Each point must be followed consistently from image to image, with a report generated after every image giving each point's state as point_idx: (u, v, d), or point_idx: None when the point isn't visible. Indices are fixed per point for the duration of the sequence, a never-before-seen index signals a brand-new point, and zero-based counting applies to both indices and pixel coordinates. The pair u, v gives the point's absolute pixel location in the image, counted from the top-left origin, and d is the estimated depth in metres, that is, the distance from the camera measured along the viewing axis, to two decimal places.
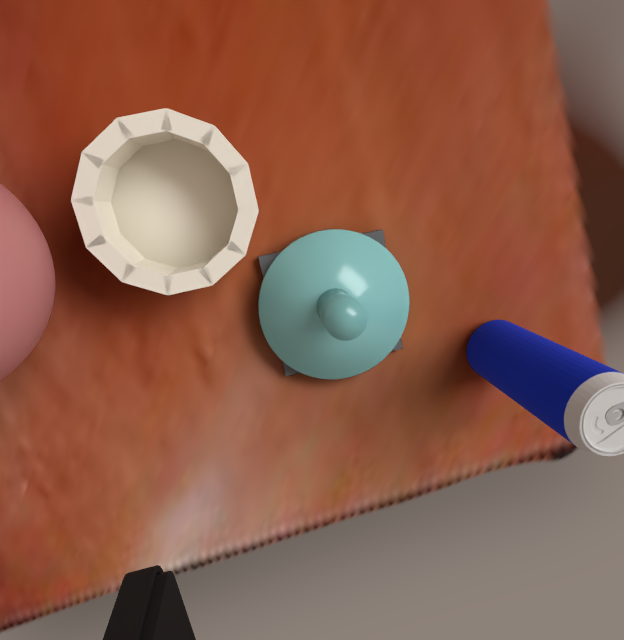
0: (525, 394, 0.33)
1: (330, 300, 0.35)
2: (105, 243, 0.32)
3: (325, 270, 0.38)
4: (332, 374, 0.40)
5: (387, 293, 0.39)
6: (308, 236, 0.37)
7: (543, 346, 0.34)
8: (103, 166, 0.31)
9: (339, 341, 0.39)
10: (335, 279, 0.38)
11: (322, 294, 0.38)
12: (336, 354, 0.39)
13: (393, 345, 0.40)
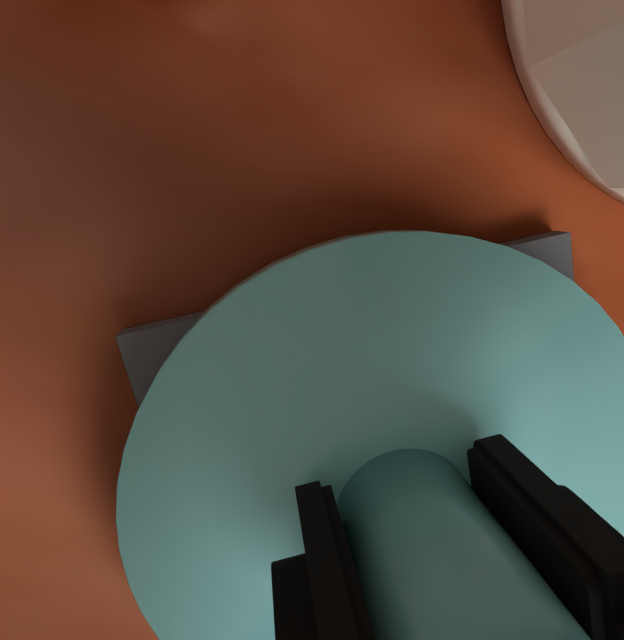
0: None
1: None
2: None
3: None
4: (139, 524, 0.10)
5: None
6: None
7: None
8: None
9: (275, 536, 0.10)
10: None
11: (457, 469, 0.10)
12: (222, 531, 0.10)
13: None
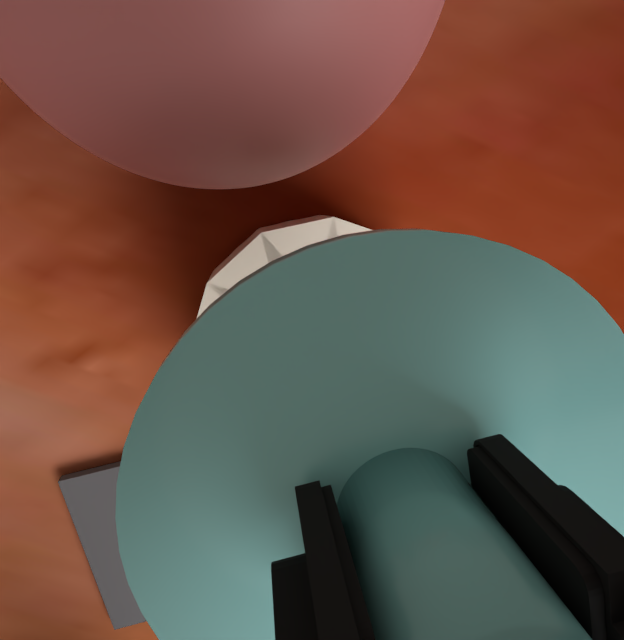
0: None
1: (545, 580, 0.07)
2: (268, 262, 0.20)
3: None
4: (138, 523, 0.10)
5: None
6: None
7: None
8: None
9: (275, 535, 0.10)
10: None
11: (457, 468, 0.10)
12: (222, 530, 0.10)
13: None
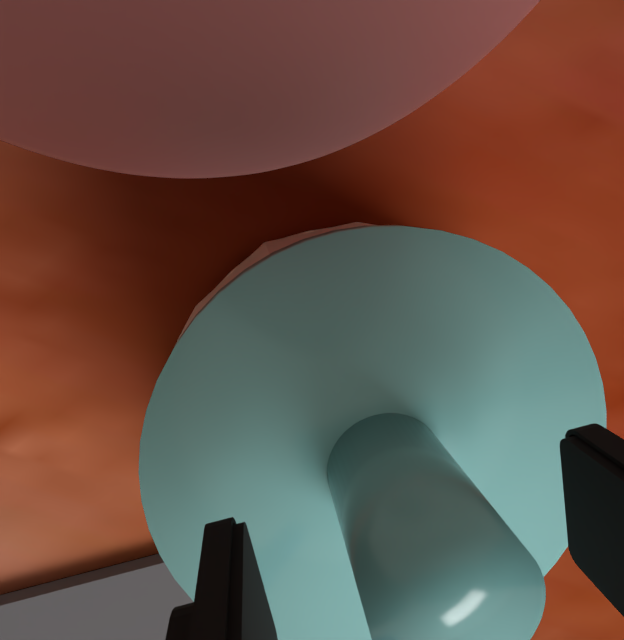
0: None
1: (494, 509, 0.09)
2: None
3: (497, 432, 0.12)
4: (158, 476, 0.12)
5: None
6: (598, 379, 0.12)
7: None
8: None
9: (275, 488, 0.12)
10: (468, 462, 0.13)
11: (431, 430, 0.12)
12: (229, 484, 0.12)
13: None
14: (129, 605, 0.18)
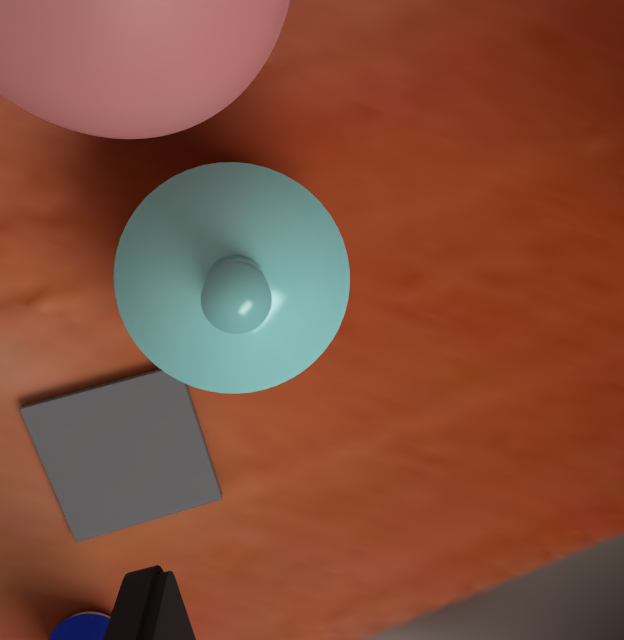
0: None
1: (261, 273, 0.22)
2: None
3: (291, 265, 0.25)
4: (123, 285, 0.24)
5: (259, 359, 0.26)
6: (340, 238, 0.25)
7: None
8: None
9: (181, 293, 0.25)
10: (278, 281, 0.26)
11: (256, 262, 0.25)
12: (158, 290, 0.25)
13: (178, 377, 0.26)
14: (114, 406, 0.31)
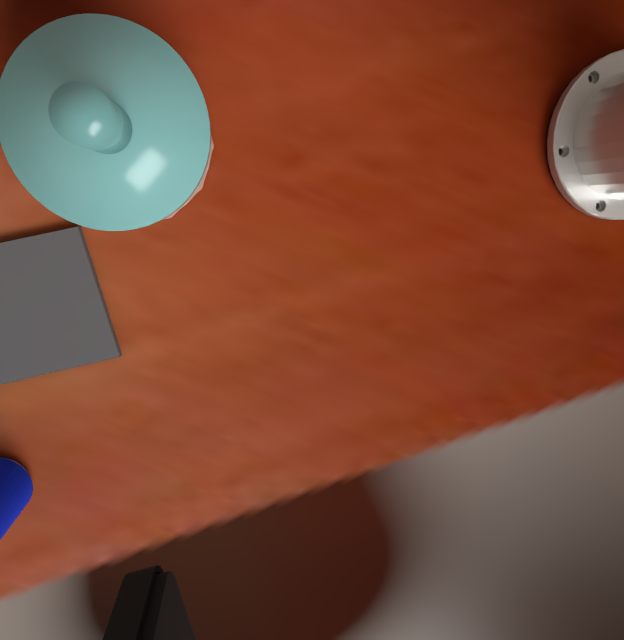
0: None
1: (110, 99, 0.26)
2: None
3: (155, 113, 0.29)
4: (4, 122, 0.28)
5: (129, 200, 0.30)
6: (199, 90, 0.29)
7: None
8: None
9: (56, 133, 0.28)
10: (144, 128, 0.29)
11: (122, 107, 0.28)
12: (35, 128, 0.28)
13: (56, 211, 0.29)
14: (19, 260, 0.35)
